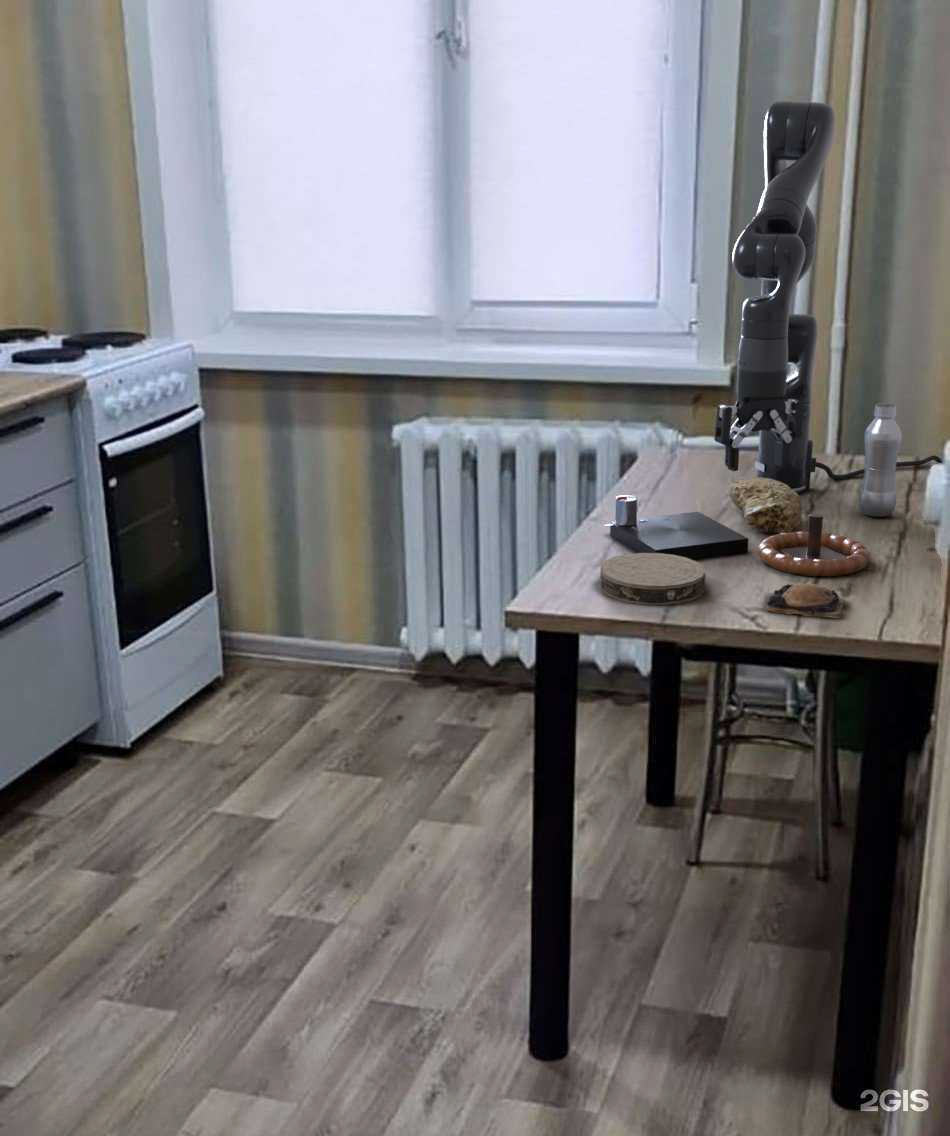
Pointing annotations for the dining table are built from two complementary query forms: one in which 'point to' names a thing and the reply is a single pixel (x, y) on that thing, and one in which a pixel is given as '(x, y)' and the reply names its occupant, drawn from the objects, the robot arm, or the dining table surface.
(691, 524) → the hob
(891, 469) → the plastic bottle
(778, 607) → the bread roll
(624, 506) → the hob knob
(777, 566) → the brown segmented ring
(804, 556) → the peg
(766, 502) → the sponge
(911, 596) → the dining table surface
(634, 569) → the tan disc
